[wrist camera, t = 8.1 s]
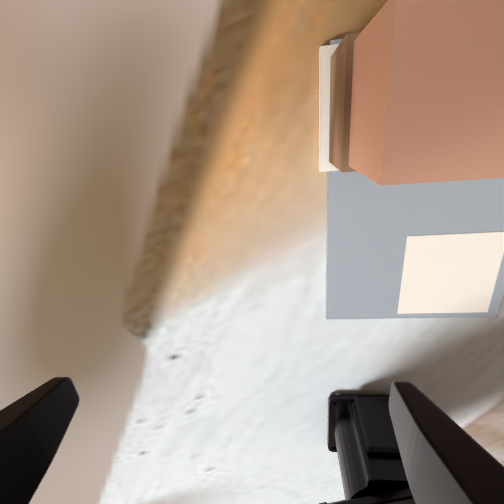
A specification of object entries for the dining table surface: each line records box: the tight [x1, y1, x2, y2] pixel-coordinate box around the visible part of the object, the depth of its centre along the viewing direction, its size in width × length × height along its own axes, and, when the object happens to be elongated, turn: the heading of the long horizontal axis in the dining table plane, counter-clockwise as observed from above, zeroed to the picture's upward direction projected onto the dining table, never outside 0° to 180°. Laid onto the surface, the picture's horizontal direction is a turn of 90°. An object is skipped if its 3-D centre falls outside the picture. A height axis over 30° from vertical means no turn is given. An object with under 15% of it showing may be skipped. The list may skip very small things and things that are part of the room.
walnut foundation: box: [329, 32, 361, 173], centre depth 13 cm, size 5×5×4 cm
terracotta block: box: [349, 0, 504, 186], centre depth 9 cm, size 4×4×4 cm
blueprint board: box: [319, 39, 504, 319], centre depth 17 cm, size 16×12×1 cm
